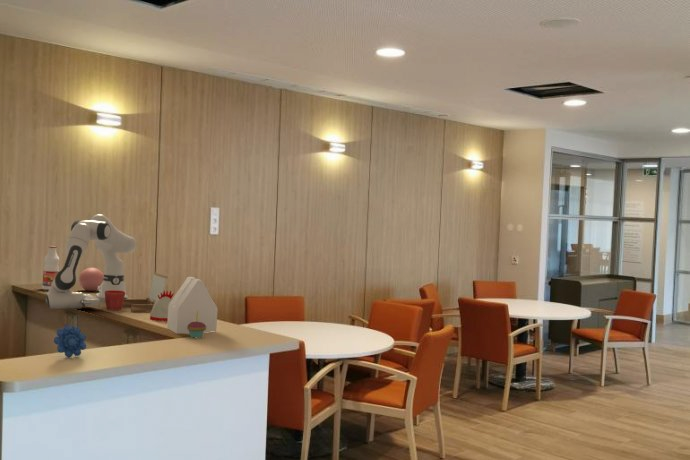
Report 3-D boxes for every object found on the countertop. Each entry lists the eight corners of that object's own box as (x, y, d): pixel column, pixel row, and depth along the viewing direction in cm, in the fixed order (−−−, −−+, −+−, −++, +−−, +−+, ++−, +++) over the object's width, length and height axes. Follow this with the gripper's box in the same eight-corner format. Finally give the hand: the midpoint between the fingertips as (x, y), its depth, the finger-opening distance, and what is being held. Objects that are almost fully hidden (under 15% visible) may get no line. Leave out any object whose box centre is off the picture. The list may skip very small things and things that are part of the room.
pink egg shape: (113, 292, 446) (114, 269, 446) (81, 292, 435) (82, 268, 435) (106, 289, 459) (108, 266, 459) (75, 289, 448) (77, 266, 448)
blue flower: (55, 360, 244) (57, 327, 244) (51, 356, 250) (53, 324, 249) (88, 358, 251) (90, 326, 251) (83, 354, 256) (85, 323, 256)
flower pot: (111, 310, 367) (112, 293, 367) (99, 308, 374) (100, 290, 374) (128, 309, 376) (129, 292, 376) (116, 307, 383) (117, 290, 382)
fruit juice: (60, 289, 440) (63, 246, 440) (46, 290, 433) (49, 246, 433) (53, 288, 446) (56, 245, 446) (39, 288, 439) (42, 245, 439)
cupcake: (185, 335, 310) (186, 309, 310) (203, 335, 314) (205, 309, 314) (188, 339, 302) (190, 312, 302) (207, 338, 306) (209, 312, 306)
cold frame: (120, 306, 387) (120, 298, 387) (148, 305, 396) (149, 298, 396) (131, 312, 368) (131, 303, 368) (160, 311, 377) (161, 303, 377)
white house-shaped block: (176, 333, 314) (179, 279, 314) (167, 328, 327) (170, 276, 327) (216, 332, 324) (219, 280, 323) (205, 327, 337) (208, 277, 337)
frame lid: (154, 272, 396) (155, 272, 396) (148, 297, 395) (149, 298, 395) (165, 276, 378) (167, 276, 379) (159, 302, 377) (161, 303, 378)
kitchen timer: (180, 321, 350) (182, 292, 350) (154, 321, 343) (156, 292, 343) (173, 316, 362) (174, 288, 362) (147, 317, 355) (148, 288, 355)
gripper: (82, 297, 356) (109, 297, 363) (74, 292, 373) (100, 292, 381) (82, 309, 356) (109, 308, 364) (74, 303, 373) (100, 303, 381)
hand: (104, 300), depth 372 cm, fingers closed
